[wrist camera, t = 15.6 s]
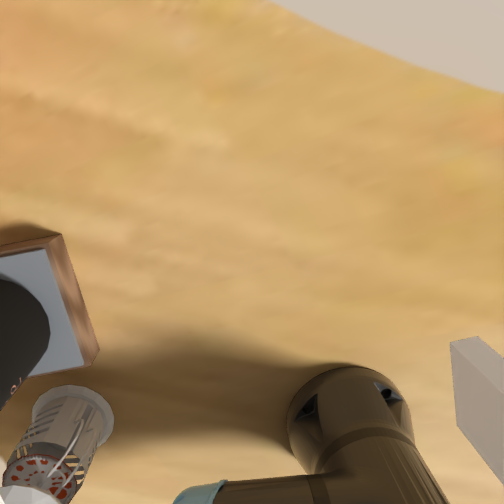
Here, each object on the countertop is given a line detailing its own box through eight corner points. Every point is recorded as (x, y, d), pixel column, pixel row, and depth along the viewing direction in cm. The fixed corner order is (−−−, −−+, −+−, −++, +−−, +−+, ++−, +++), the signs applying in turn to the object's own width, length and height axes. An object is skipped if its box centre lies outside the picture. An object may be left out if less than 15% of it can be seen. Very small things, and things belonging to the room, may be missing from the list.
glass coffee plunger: (13, 421, 51) (-176, 687, 27) (76, 359, 49) (-68, 584, 25) (79, 466, 53) (-41, 746, 29) (141, 408, 51) (67, 656, 27)
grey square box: (99, 349, 48) (88, 368, 45) (-21, 373, 48) (-42, 394, 45) (61, 233, 44) (46, 244, 41) (-70, 259, 44) (-98, 271, 40)
